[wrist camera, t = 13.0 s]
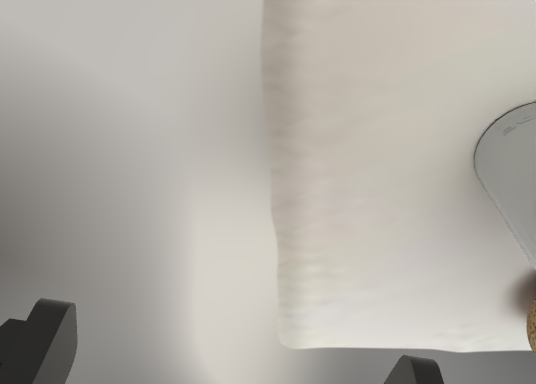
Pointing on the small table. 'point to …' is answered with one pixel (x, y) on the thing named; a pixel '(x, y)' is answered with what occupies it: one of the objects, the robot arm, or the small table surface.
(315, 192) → the small table surface
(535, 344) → the natural sponge
